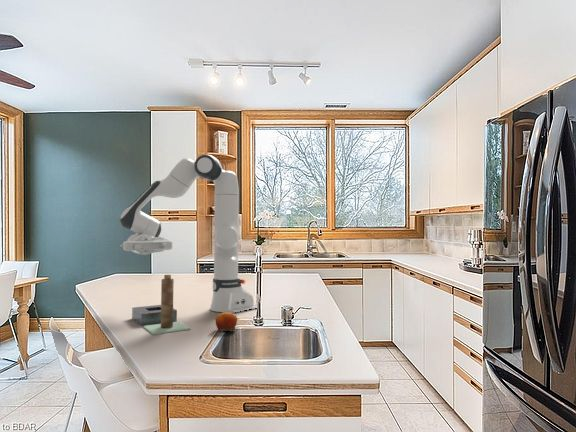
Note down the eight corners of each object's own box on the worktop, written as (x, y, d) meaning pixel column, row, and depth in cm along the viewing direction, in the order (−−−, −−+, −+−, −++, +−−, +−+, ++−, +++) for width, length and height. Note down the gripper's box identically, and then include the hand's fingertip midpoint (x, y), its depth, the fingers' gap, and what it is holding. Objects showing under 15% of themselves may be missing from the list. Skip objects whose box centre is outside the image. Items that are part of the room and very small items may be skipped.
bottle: (170, 324, 164) (171, 274, 164) (174, 327, 160) (175, 275, 161) (159, 326, 162) (160, 274, 162) (162, 329, 158) (163, 276, 158)
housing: (165, 314, 184) (165, 304, 184) (176, 321, 172) (176, 310, 172) (132, 318, 176) (132, 307, 176) (141, 325, 165) (141, 314, 165)
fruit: (217, 331, 153) (216, 309, 157) (215, 337, 159) (214, 316, 163) (239, 330, 155) (238, 308, 159) (236, 336, 161) (235, 315, 165)
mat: (179, 322, 170) (179, 321, 170) (190, 329, 160) (190, 328, 160) (143, 327, 162) (143, 325, 162) (152, 334, 152) (153, 333, 152)
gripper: (119, 237, 183) (127, 239, 171) (166, 237, 194) (176, 238, 183) (118, 252, 183) (126, 255, 171) (166, 251, 194) (176, 253, 183)
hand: (153, 246), depth 177 cm, fingers open, 8 cm apart
